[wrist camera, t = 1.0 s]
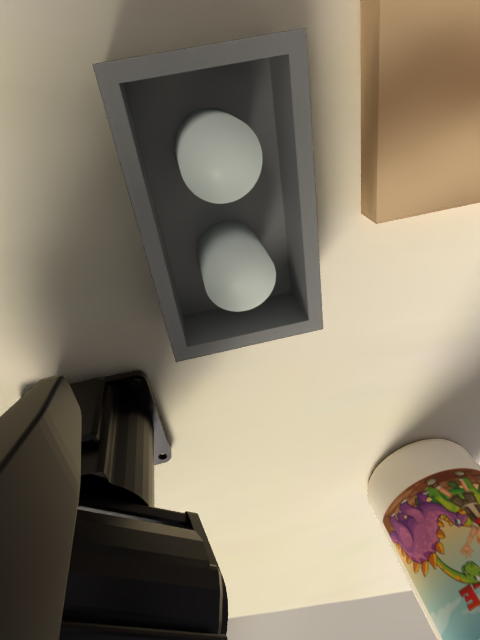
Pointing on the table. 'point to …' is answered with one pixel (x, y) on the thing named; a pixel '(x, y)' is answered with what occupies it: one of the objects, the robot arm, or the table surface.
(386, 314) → the table surface
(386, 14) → the wooden l-shaped stand
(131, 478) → the robot arm
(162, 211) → the tray
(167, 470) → the table surface
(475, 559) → the milk bottle
